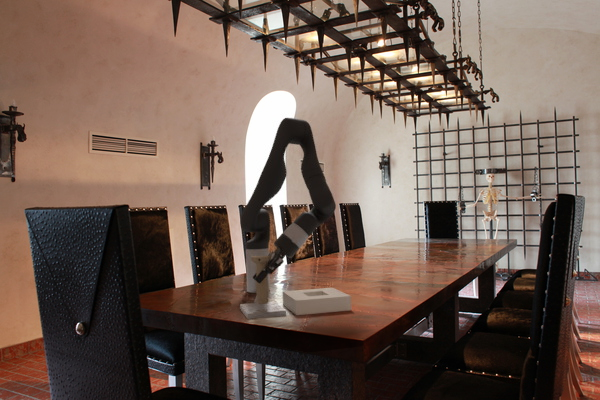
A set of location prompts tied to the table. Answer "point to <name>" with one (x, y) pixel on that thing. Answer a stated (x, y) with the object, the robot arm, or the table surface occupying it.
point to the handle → (263, 286)
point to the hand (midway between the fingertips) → (256, 280)
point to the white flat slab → (262, 310)
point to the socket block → (316, 301)
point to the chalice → (255, 253)
